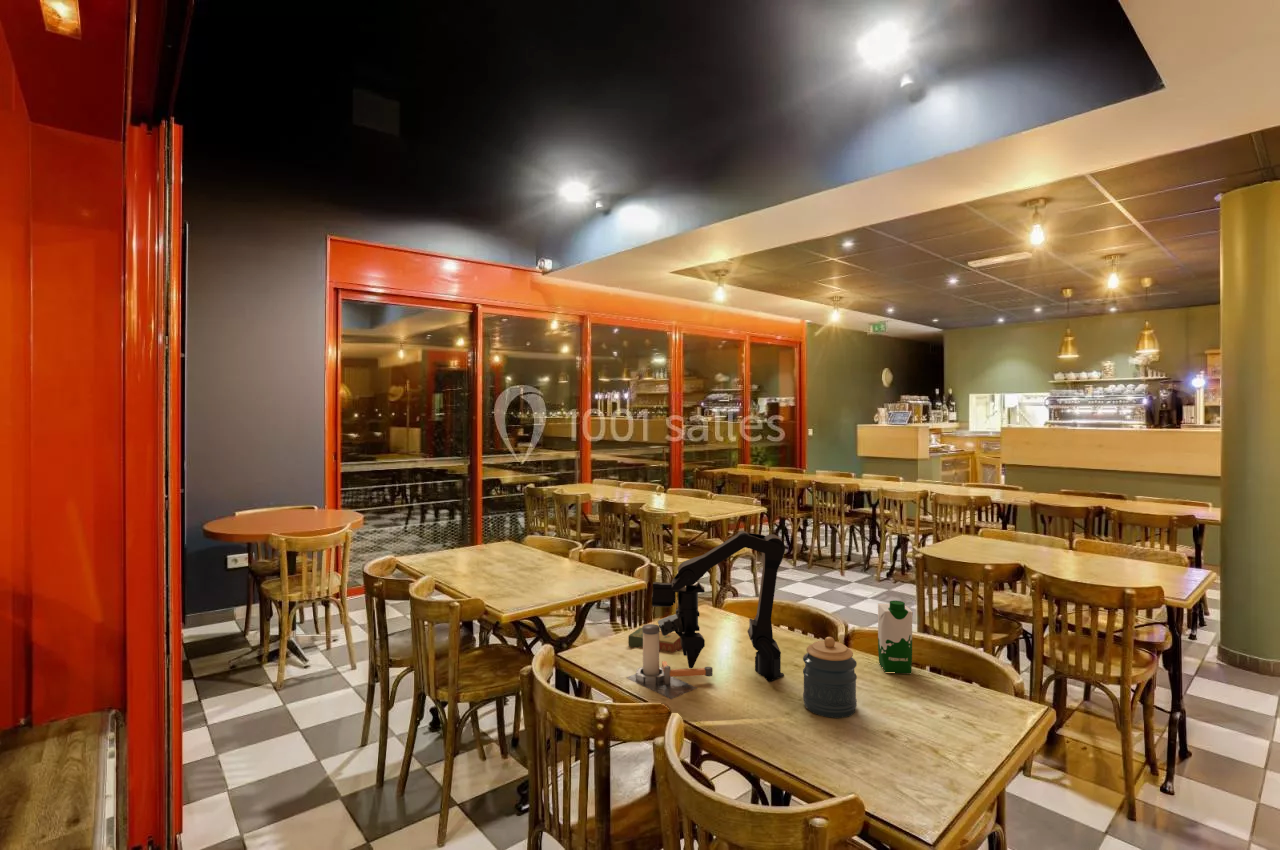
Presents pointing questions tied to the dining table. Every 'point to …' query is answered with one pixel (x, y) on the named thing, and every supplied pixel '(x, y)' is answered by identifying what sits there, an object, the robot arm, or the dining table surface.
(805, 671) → the canister
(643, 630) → the plug
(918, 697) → the dining table surface
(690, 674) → the clip
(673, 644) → the carton
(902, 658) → the milk carton
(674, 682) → the socket plate
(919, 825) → the dining table surface
